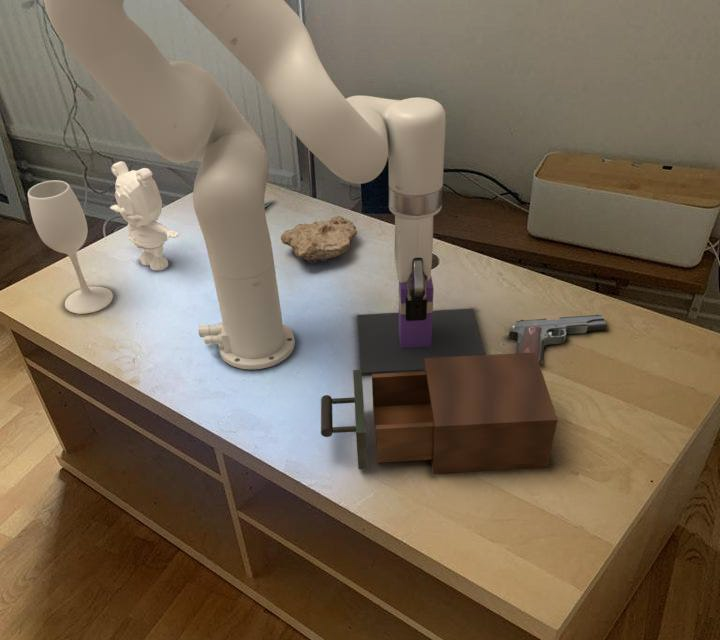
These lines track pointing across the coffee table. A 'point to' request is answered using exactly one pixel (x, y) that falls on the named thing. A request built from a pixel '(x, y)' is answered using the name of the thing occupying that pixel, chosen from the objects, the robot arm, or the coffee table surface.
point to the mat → (385, 354)
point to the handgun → (551, 332)
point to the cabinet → (489, 413)
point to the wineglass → (65, 237)
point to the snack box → (415, 330)
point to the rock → (320, 239)
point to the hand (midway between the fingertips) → (413, 303)
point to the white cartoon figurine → (142, 213)
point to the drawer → (389, 417)
